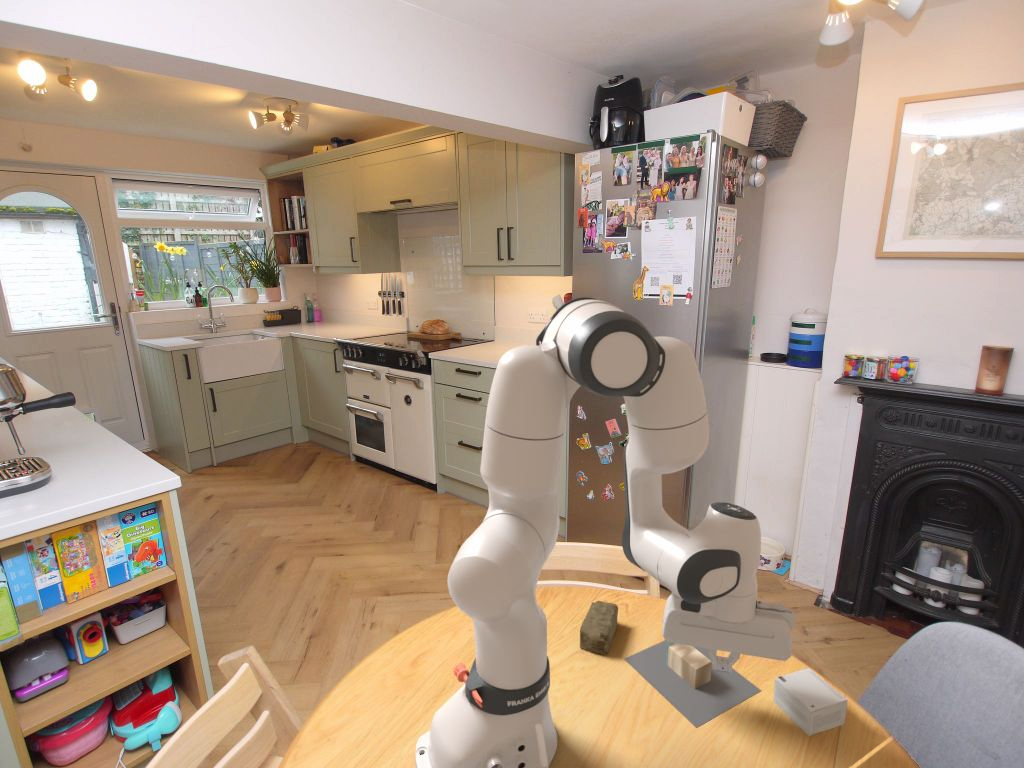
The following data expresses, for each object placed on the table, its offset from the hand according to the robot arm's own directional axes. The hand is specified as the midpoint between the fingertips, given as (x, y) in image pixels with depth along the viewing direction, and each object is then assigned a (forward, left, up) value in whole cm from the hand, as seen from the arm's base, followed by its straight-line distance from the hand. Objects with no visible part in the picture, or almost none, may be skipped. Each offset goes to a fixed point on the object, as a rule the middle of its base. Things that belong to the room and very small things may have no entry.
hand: (721, 669), depth 91 cm
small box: (+11, -9, -7) cm, 15 cm away
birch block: (0, +4, -4) cm, 5 cm away
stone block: (-8, +23, -7) cm, 26 cm away
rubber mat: (0, +7, -6) cm, 9 cm away
